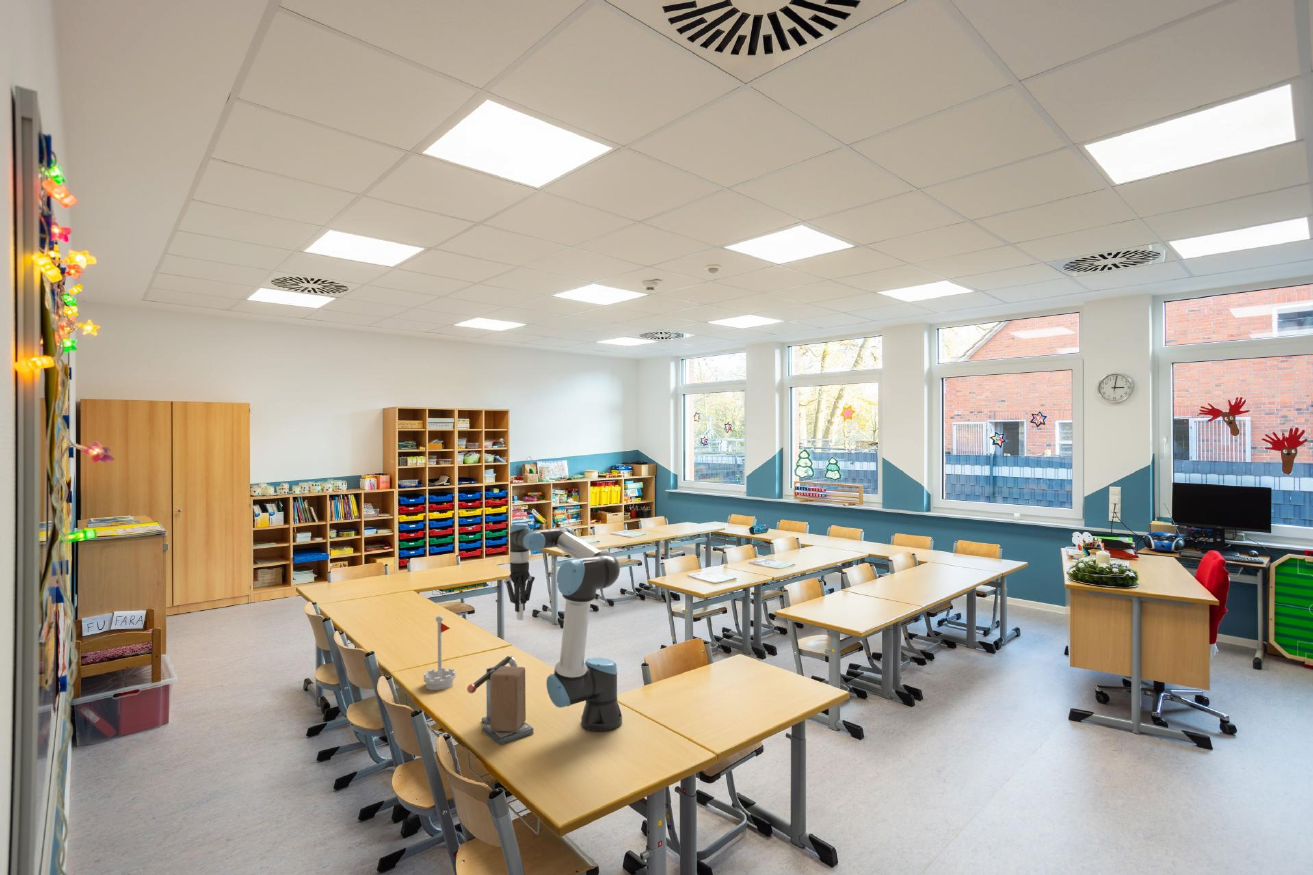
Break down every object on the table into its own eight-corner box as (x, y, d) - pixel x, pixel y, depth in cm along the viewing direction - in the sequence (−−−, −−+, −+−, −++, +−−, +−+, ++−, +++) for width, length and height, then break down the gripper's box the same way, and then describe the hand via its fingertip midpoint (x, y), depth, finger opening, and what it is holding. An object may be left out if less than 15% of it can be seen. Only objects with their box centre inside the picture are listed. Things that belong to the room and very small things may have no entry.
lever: (518, 665, 243) (512, 653, 241) (474, 701, 231) (467, 689, 230) (514, 663, 246) (508, 651, 244) (471, 699, 234) (464, 686, 232)
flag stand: (417, 689, 270) (416, 618, 270) (435, 678, 282) (434, 610, 283) (444, 692, 266) (444, 620, 267) (461, 680, 279) (460, 612, 279)
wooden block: (516, 733, 223) (515, 676, 223) (489, 731, 224) (489, 674, 225) (526, 720, 233) (526, 666, 233) (500, 719, 234) (500, 664, 235)
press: (533, 733, 227) (533, 678, 228) (500, 744, 219) (499, 688, 219) (505, 713, 244) (504, 663, 244) (472, 723, 236) (472, 671, 236)
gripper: (529, 558, 266) (529, 614, 266) (500, 562, 258) (501, 620, 257) (538, 560, 260) (538, 618, 260) (509, 564, 252) (509, 624, 252)
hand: (520, 619), depth 259 cm, fingers closed
